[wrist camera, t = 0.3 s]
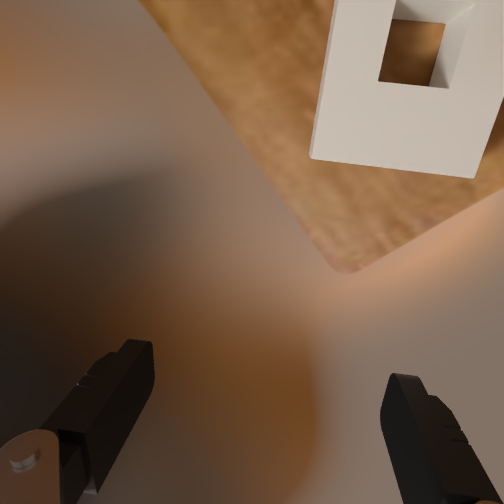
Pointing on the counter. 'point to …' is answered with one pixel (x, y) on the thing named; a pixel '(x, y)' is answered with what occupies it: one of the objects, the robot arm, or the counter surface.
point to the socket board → (411, 88)
